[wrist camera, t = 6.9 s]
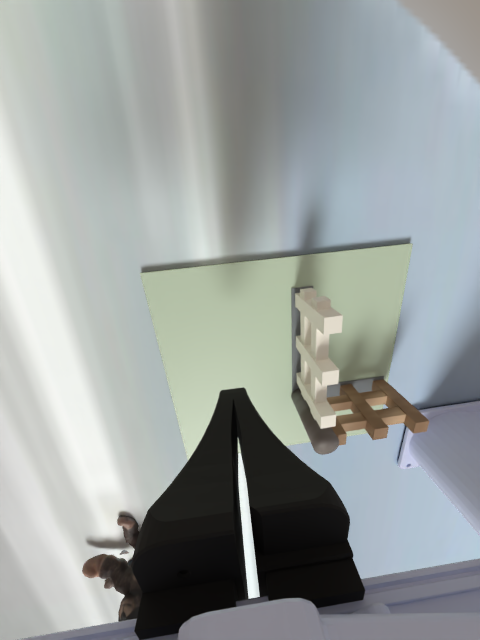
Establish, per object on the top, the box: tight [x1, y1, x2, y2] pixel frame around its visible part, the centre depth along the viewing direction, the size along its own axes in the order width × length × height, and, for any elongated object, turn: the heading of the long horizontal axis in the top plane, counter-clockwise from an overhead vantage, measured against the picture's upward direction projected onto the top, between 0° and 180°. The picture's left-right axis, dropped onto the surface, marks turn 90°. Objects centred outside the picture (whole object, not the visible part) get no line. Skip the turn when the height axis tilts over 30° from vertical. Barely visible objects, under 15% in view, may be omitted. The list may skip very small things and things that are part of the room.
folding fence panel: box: [295, 288, 343, 429], centre depth 16 cm, size 9×1×5 cm, turn 6°
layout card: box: [140, 243, 413, 460], centre depth 19 cm, size 19×18×1 cm
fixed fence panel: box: [291, 379, 429, 454], centre depth 19 cm, size 8×2×5 cm, turn 95°
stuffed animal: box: [82, 516, 142, 622], centre depth 27 cm, size 12×10×12 cm
